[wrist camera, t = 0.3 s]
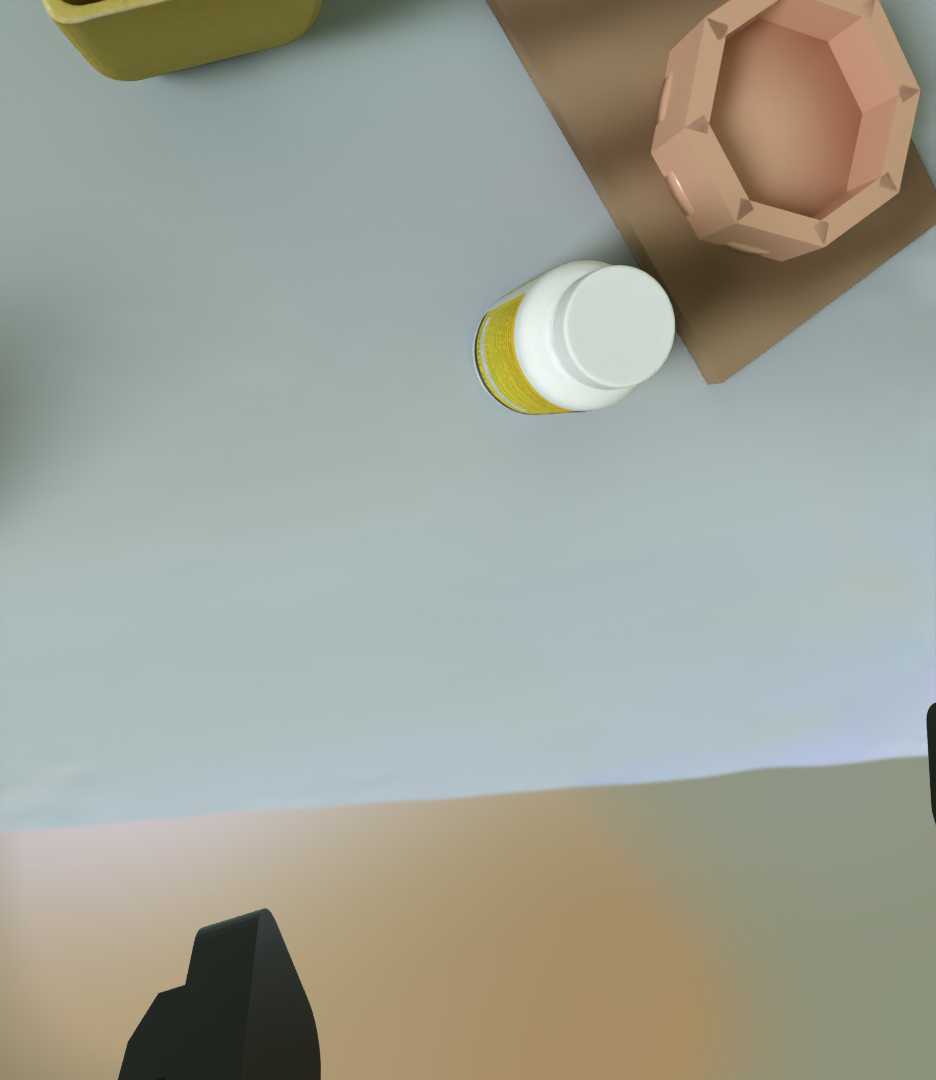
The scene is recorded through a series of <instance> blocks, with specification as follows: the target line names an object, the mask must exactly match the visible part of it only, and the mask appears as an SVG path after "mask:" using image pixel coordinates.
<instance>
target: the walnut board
mask: <svg viewBox="0 0 936 1080" xmlns="http://www.w3.org/2000/svg"><path fill="white" fill-rule="evenodd" d="M486 1H487V3H488V5H489V6H490V8H491V10H492V12H493V13H494V15H495V17H496V18H497V20H498V22H499V24H500V25H501V27H502V29H503V31H504V32H505V34H506V36H507V37H508V39H509V41H510V43H511V44H512V46H513V48H514V50H515V51H516V53H517V55H518V56H519V58H520V60H521V62H522V63H523V65H524V67H525V69H526V70H527V72H528V74H529V75H530V77H531V79H532V81H533V82H534V84H535V86H536V88H537V89H538V91H539V93H540V94H541V96H542V98H543V100H544V101H545V103H546V105H547V107H548V108H549V110H550V112H551V113H552V115H553V117H554V119H555V120H556V122H557V124H558V126H559V127H560V129H561V131H562V132H563V134H564V136H565V138H566V139H567V141H568V143H569V145H570V146H571V148H572V150H573V152H574V153H575V155H576V157H577V158H578V160H579V162H580V164H581V165H582V167H583V169H584V171H585V172H586V174H587V176H588V177H589V179H590V181H591V183H592V184H593V186H594V188H595V190H596V191H597V193H598V195H599V196H600V198H601V200H602V202H603V203H604V205H605V207H606V209H607V210H608V212H609V214H610V215H611V217H612V219H613V221H614V222H615V224H616V226H617V228H618V229H619V231H620V233H621V234H622V236H623V238H624V240H625V241H626V243H627V245H628V247H629V248H630V250H631V252H632V253H633V255H634V257H635V259H636V260H637V262H638V264H639V266H640V267H641V269H642V271H644V272H646V273H648V274H649V275H650V276H652V277H653V278H654V279H655V280H656V281H657V282H658V283H659V284H660V285H661V287H662V288H663V289H664V291H665V292H666V294H667V295H668V298H669V300H670V303H671V305H672V308H673V312H674V317H675V328H676V329H677V331H678V333H679V335H680V336H681V338H682V340H683V342H684V343H685V345H686V347H687V348H688V350H689V352H690V354H691V355H692V357H693V359H694V361H695V362H696V364H697V366H698V367H699V369H700V371H701V373H702V374H703V376H704V378H705V380H706V381H707V383H708V385H709V384H718V383H723V382H724V381H725V380H727V379H728V378H729V377H731V376H732V375H733V374H735V373H736V372H737V371H739V370H740V369H741V368H743V367H744V366H745V365H747V364H748V363H749V362H751V361H752V360H753V359H755V358H756V357H758V356H759V355H760V354H762V353H763V352H764V351H766V350H767V349H768V348H770V347H771V346H772V345H774V344H775V343H776V342H778V341H779V340H780V339H782V338H783V337H784V336H786V335H787V334H788V333H790V332H791V331H792V330H794V329H795V328H797V327H798V326H799V325H801V324H802V323H803V322H805V321H806V320H807V319H809V318H810V317H811V316H813V315H814V314H815V313H817V312H818V311H819V310H821V309H822V308H823V307H825V306H826V305H827V304H829V303H830V302H831V301H833V300H834V299H836V298H837V297H838V296H840V295H841V294H842V293H844V292H845V291H846V290H848V289H849V288H850V287H852V286H853V285H854V284H856V283H857V282H858V281H860V280H861V279H862V278H864V277H865V276H866V275H868V274H869V273H870V272H872V271H873V270H875V269H876V268H877V267H879V266H880V265H881V264H883V263H884V262H885V261H887V260H888V259H889V258H891V257H892V256H893V255H895V254H896V253H897V252H899V251H900V250H901V249H903V248H904V247H905V246H907V245H908V244H909V243H911V242H912V241H914V240H915V239H916V238H918V237H919V236H920V235H922V234H923V233H924V232H926V231H927V230H928V229H930V228H931V227H932V226H934V225H935V224H936V190H935V188H934V186H933V184H932V181H931V179H930V177H929V175H928V173H927V171H926V169H925V167H924V164H923V162H922V160H921V158H920V156H919V154H918V152H917V150H916V148H915V145H914V143H913V141H912V139H911V138H910V143H909V147H908V152H907V157H906V161H905V166H904V171H903V176H902V180H901V185H900V190H899V193H898V194H896V195H895V196H894V197H892V198H891V199H890V200H888V201H887V202H886V203H884V204H883V205H881V206H880V207H879V208H877V209H876V210H875V211H873V212H872V213H870V214H869V215H868V216H866V217H865V218H864V219H862V220H861V221H860V222H858V223H857V224H855V225H854V226H853V227H851V228H850V229H849V230H847V231H846V232H845V233H843V234H842V235H840V236H839V237H838V238H836V239H835V240H834V241H832V242H831V243H830V244H828V245H827V246H825V247H824V248H821V249H818V250H815V251H812V252H809V253H806V254H803V255H800V256H797V257H794V258H791V259H788V260H785V261H782V262H781V261H777V260H773V259H770V258H766V257H762V256H753V255H747V254H742V253H738V252H736V251H733V250H730V249H727V248H725V247H723V246H721V245H717V244H713V243H710V242H706V241H702V240H699V239H698V237H697V235H696V234H695V232H694V230H693V228H692V226H691V225H690V223H689V221H688V219H687V217H686V216H685V215H684V213H683V212H682V211H681V209H680V208H679V206H678V205H677V203H676V202H675V200H674V198H673V196H672V194H671V192H670V190H669V188H668V186H667V184H666V181H665V178H664V176H663V174H662V172H661V171H660V169H659V167H658V165H657V163H656V162H655V160H654V158H653V156H652V154H651V149H652V144H653V138H654V133H655V128H656V114H657V106H658V100H659V96H660V92H661V88H662V84H663V82H664V79H665V74H666V69H667V64H668V58H669V53H670V51H671V50H672V49H673V48H674V47H675V46H676V45H677V44H678V43H679V42H680V41H681V40H682V39H683V38H684V37H685V36H686V35H687V34H688V33H689V32H690V31H691V30H692V29H694V28H695V27H696V26H697V25H698V24H699V23H700V22H701V21H702V20H703V19H704V18H705V17H706V16H708V15H709V14H711V13H712V12H713V11H715V10H716V9H718V8H719V7H721V6H722V5H724V4H725V3H727V2H728V1H730V0H486Z"/></svg>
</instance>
